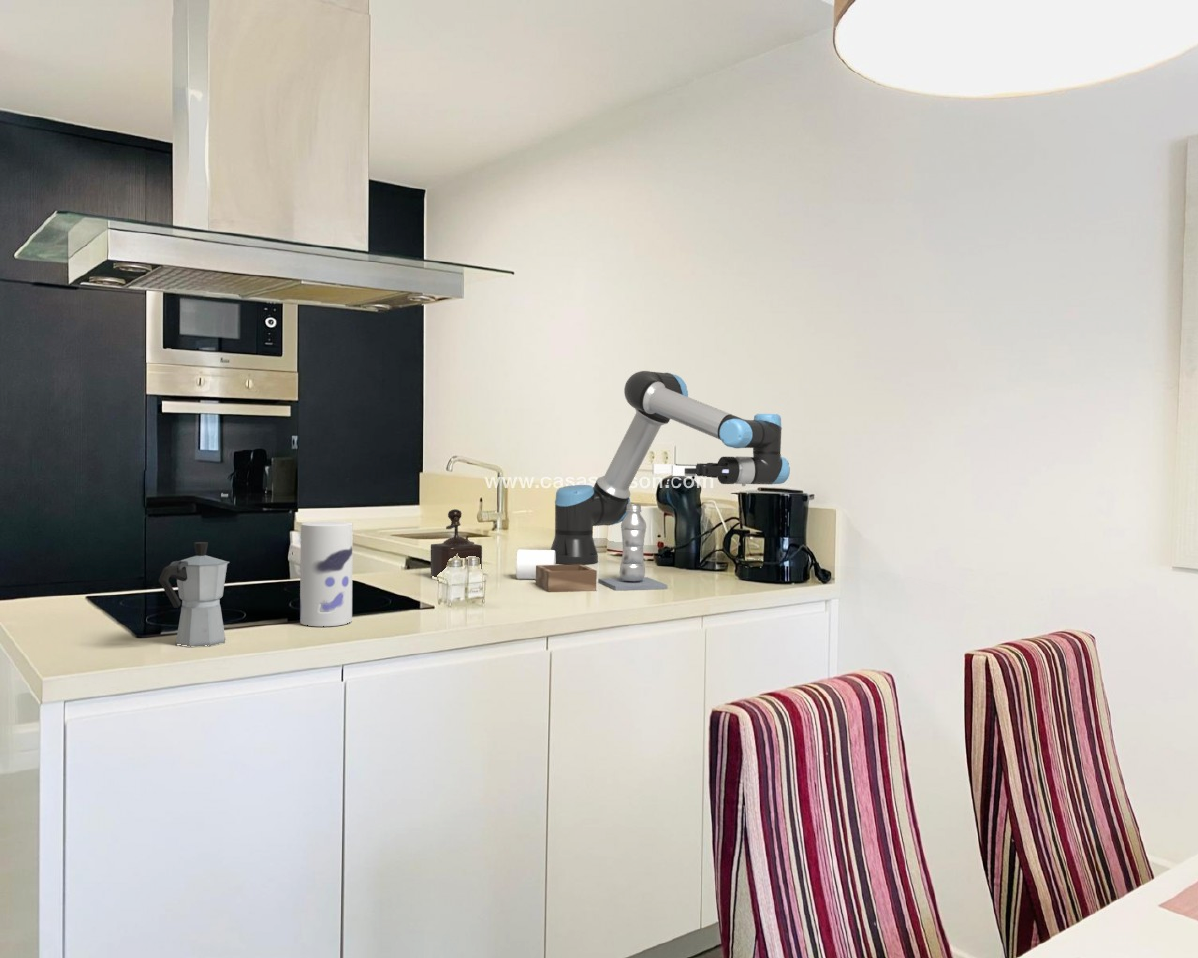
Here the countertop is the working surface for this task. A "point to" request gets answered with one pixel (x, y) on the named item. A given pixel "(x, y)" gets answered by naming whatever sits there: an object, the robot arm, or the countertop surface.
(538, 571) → the holder
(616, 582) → the mat
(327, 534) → the container
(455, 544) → the manual coffee grinder
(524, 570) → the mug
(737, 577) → the countertop surface
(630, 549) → the plastic bottle
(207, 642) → the coffee maker
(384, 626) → the countertop surface
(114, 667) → the countertop surface
